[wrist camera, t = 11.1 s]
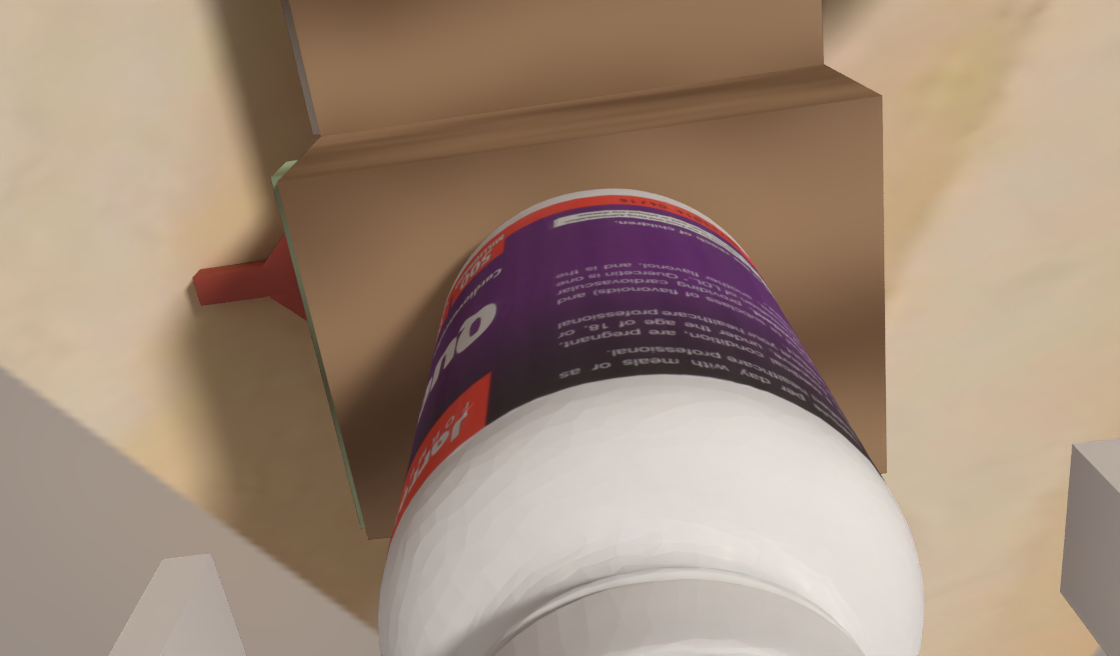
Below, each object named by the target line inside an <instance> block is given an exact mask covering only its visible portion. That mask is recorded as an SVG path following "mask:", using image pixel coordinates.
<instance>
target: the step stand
mask: <svg viewBox="0 0 1120 656" xmlns="http://www.w3.org/2000/svg"><path fill="white" fill-rule="evenodd" d="M281 2H282V6H283V10H284V14H285V19H286V23H287V27H288V31H289V36H290V40H291V44H292V48H293V52H294V57H295V61H296V65H297V69H298V74H299V78H300V82H301V86H302V90H303V95H304V99H305V103H306V107H307V112H308V116H309V120H310V124H311V128H312V133H313V135H318V134H320V136H321V137H320V138H319V139H318V140H317V141H316V142H315V143H314V144H313V145H312V146H311V147H310V148H309V149H308V150H307V151H306V152H305V153H304V154H303V155H302V156H301V157H300V159H299V160H294V161H287V162H286V163H285V164H284V165H283V166H282V167H280V168H279V169H278V170H277V171H276V172H275V173H274V174H273V175H272V176H271V181H272V185H273V189H274V193H275V196H276V200H277V204H278V208H279V212H280V216H281V220H282V224H283V227H284V231H285V234H284V235H283V237H282V238H281V240H280V241H279V243H278V244H277V246H276V247H275V249H274V250H273V252H272V253H271V255H270V256H269V257H268V259H267V260H264V261H257V262H250V263H243V264H236V265H229V266H221V267H214V268H207V269H200V270H199V271H198V272H197V273H196V274H195V276H194V277H193V281H194V284H195V287H196V291H197V294H198V297H199V301H200V304H201V306H202V305H210V304H217V303H224V302H231V301H238V300H246V299H253V298H260V297H267V296H269V297H271V298H273V299H274V300H276V301H277V302H279V303H280V304H282V305H283V306H285V307H287V308H288V309H290V310H291V311H293V312H294V313H296V314H298V315H299V316H301V317H302V318H304V319H305V320H307V321H308V324H309V328H310V332H311V336H312V340H313V344H314V348H315V351H316V355H317V359H318V363H319V367H320V371H321V375H322V379H323V382H324V386H325V390H326V394H327V398H328V402H329V406H330V410H331V413H332V417H333V421H334V425H335V429H336V433H337V437H338V441H339V444H340V448H341V452H342V456H343V460H344V464H345V468H346V472H347V475H348V479H349V483H350V487H351V491H352V495H353V499H354V503H355V506H356V510H357V514H358V518H359V522H360V526H361V529H362V528H366V532H367V536H368V540H371V539H379V538H387V537H392V534H393V530H394V525H395V521H396V516H397V512H398V508H399V503H400V499H401V495H402V490H403V486H404V482H405V477H406V473H407V469H408V465H409V460H410V456H411V451H412V447H413V442H414V437H415V431H416V428H417V424H418V418H419V414H420V410H421V406H422V403H423V398H424V394H425V390H426V385H427V380H428V376H429V372H430V368H431V363H432V359H433V354H434V349H435V344H436V340H437V336H438V331H439V326H440V321H441V318H442V315H443V311H444V307H445V304H446V300H447V298H448V295H449V293H450V290H451V288H452V286H453V284H454V282H455V280H456V278H457V276H458V274H459V272H460V271H461V269H462V267H463V266H464V264H465V263H466V261H467V260H468V259H469V257H470V256H471V254H472V253H473V252H474V251H475V250H476V249H477V247H478V246H479V245H480V244H481V243H482V242H483V241H484V240H485V239H486V238H487V237H488V236H489V235H490V234H491V233H492V232H493V231H495V230H496V229H497V228H498V227H499V226H501V225H502V224H503V223H505V222H506V221H508V220H509V219H511V218H512V217H514V216H515V215H517V214H518V213H520V212H521V211H523V210H525V209H527V208H529V207H531V206H533V205H535V204H538V203H540V202H543V201H546V200H548V199H551V198H554V197H557V196H561V195H564V194H569V193H574V192H579V191H587V190H595V189H608V188H611V189H633V190H639V191H644V192H649V193H654V194H658V195H661V196H664V197H668V198H670V199H673V200H675V201H678V202H681V203H683V204H685V205H687V206H689V207H691V208H693V209H695V210H697V211H698V212H700V213H702V214H703V215H705V216H707V217H708V218H710V219H711V220H712V221H714V222H715V223H716V224H717V225H719V226H720V227H721V228H722V229H724V230H725V231H726V232H727V233H728V234H729V235H730V236H731V237H732V238H733V239H734V240H735V241H736V242H737V243H738V244H739V245H740V246H741V248H742V249H743V250H744V251H745V253H746V254H747V255H748V256H749V258H750V260H751V261H752V262H753V264H754V265H755V266H756V268H757V269H758V271H759V273H760V274H761V276H762V277H763V279H764V281H765V282H766V284H767V286H768V288H769V289H770V291H771V293H772V295H773V297H774V299H775V300H776V302H777V303H778V305H779V307H780V309H781V310H782V312H783V314H784V315H785V317H786V319H787V320H788V322H789V324H790V325H791V327H792V329H793V330H794V332H795V334H796V335H797V337H798V339H799V340H800V342H801V344H802V345H803V347H804V349H805V350H806V352H807V353H808V355H809V357H810V358H811V360H812V362H813V364H814V365H815V367H816V369H817V370H818V372H819V373H820V375H821V377H822V378H823V380H824V382H825V383H826V385H827V387H828V388H829V390H830V392H831V393H832V395H833V397H834V398H835V400H836V402H837V404H838V405H839V407H840V409H841V410H842V412H843V414H844V415H845V417H846V419H847V420H848V422H849V424H850V426H851V427H852V429H853V430H854V432H855V434H856V435H857V437H858V438H859V440H860V442H861V443H862V445H863V447H864V448H865V450H866V452H867V454H868V455H869V457H870V458H871V460H872V461H873V463H874V465H875V466H876V468H877V469H878V471H879V473H880V474H884V473H887V457H886V374H885V291H884V207H883V124H882V95H880V94H878V93H876V92H874V91H872V90H871V89H869V88H867V87H865V86H863V85H861V84H859V83H858V82H856V81H854V80H852V79H850V78H848V77H846V76H845V75H843V74H841V73H839V72H837V71H835V70H833V69H832V68H830V67H828V66H826V65H824V56H823V27H822V0H281Z"/></svg>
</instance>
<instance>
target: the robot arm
mask: <svg viewBox="0 0 1120 656" xmlns="http://www.w3.org/2000/svg"><path fill="white" fill-rule="evenodd" d="M1060 592H1061V594H1062V595H1063V596H1064V598H1065V599H1066V600H1067V602H1068V603H1069V604H1070V606H1071V607H1072V608H1073V610H1074V611H1075V612H1076V614H1077V615H1078V617H1079V618H1080V619H1081V621H1082V622H1083V623H1084V625H1085V626H1086V627H1087V629H1088V630H1089V631H1090V633H1091V634H1092V635H1093V637H1094V638H1095V640H1096V641H1097V642H1098V644H1099V645H1100V646H1101V648H1102V649H1103V650H1104V652H1105V653H1106V654H1107V656H1120V438H1115V439H1107V440H1099V441H1091V442H1084V443H1076V444H1072V454H1071V466H1070V478H1069V491H1068V503H1067V515H1066V527H1065V539H1064V551H1063V563H1062V575H1061V587H1060ZM108 656H246V653H245V650H244V647H243V644H242V641H241V638H240V635H239V632H238V629H237V626H236V624H235V621H234V618H233V615H232V612H231V609H230V606H229V603H228V600H227V597H226V595H225V591H224V589H223V586H222V583H221V580H220V577H219V574H218V571H217V569H216V565H215V562H214V560H213V557H212V554H211V553H207V554H199V555H191V556H183V557H175V558H167V559H163V560H162V562H161V563H160V565H159V567H158V568H157V570H156V572H155V574H154V576H153V578H152V579H151V581H150V583H149V585H148V586H147V588H146V590H145V591H144V593H143V595H142V597H141V598H140V600H139V602H138V604H137V606H136V608H135V609H134V611H133V613H132V614H131V616H130V618H129V620H128V621H127V623H126V625H125V627H124V629H123V630H122V632H121V634H120V636H119V638H118V639H117V641H116V643H115V644H114V646H113V648H112V650H111V652H110V653H109V655H108Z"/></svg>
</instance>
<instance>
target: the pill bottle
mask: <svg viewBox="0 0 1120 656" xmlns="http://www.w3.org/2000/svg"><path fill="white" fill-rule="evenodd" d="M923 621H924V593H923V580H922V574H921V569H920V564H919V560H918V556H917V552H916V548H915V544H914V541H913V538H912V535H911V532H910V530H909V527H908V525H907V523H906V520H905V518H904V516H903V514H902V512H901V510H900V508H899V506H898V504H897V503H896V501H895V499H894V497H893V496H892V494H891V492H890V490H889V488H888V486H887V484H886V483H885V481H884V479H883V478H882V476H881V474H880V473H879V471H878V469H877V468H876V466H875V465H874V463H873V461H872V460H871V458H870V457H869V455H868V454H867V452H866V450H865V448H864V447H863V445H862V443H861V442H860V440H859V438H858V437H857V435H856V434H855V432H854V430H853V429H852V427H851V426H850V424H849V422H848V420H847V419H846V417H845V415H844V414H843V412H842V410H841V409H840V407H839V405H838V404H837V402H836V400H835V398H834V397H833V395H832V393H831V392H830V390H829V388H828V387H827V385H826V383H825V382H824V380H823V378H822V377H821V375H820V373H819V372H818V370H817V369H816V367H815V365H814V364H813V362H812V360H811V358H810V357H809V355H808V353H807V352H806V350H805V349H804V347H803V345H802V344H801V342H800V340H799V339H798V337H797V335H796V334H795V332H794V330H793V329H792V327H791V325H790V324H789V322H788V320H787V319H786V317H785V315H784V314H783V312H782V310H781V309H780V307H779V305H778V303H777V302H776V300H775V299H774V297H773V295H772V293H771V291H770V289H769V288H768V286H767V284H766V282H765V281H764V279H763V277H762V276H761V274H760V273H759V271H758V269H757V268H756V266H755V265H754V264H753V262H752V261H751V260H750V258H749V256H748V255H747V254H746V253H745V251H744V250H743V249H742V248H741V246H740V245H739V244H738V243H737V242H736V241H735V240H734V239H733V238H732V237H731V236H730V235H729V234H728V233H727V232H726V231H725V230H724V229H722V228H721V227H720V226H719V225H717V224H716V223H715V222H714V221H712V220H711V219H710V218H708V217H707V216H705V215H703V214H702V213H700V212H698V211H697V210H695V209H693V208H691V207H689V206H687V205H685V204H683V203H681V202H678V201H675V200H673V199H670V198H668V197H664V196H661V195H658V194H654V193H649V192H644V191H639V190H633V189H611V188H608V189H595V190H587V191H579V192H574V193H569V194H564V195H561V196H557V197H554V198H551V199H548V200H546V201H543V202H540V203H538V204H535V205H533V206H531V207H529V208H527V209H525V210H523V211H521V212H520V213H518V214H517V215H515V216H514V217H512V218H511V219H509V220H508V221H506V222H505V223H503V224H502V225H501V226H499V227H498V228H497V229H496V230H495V231H493V232H492V233H491V234H490V235H489V236H488V237H487V238H486V239H485V240H484V241H483V242H482V243H481V244H480V245H479V246H478V247H477V249H476V250H475V251H474V252H473V253H472V254H471V256H470V257H469V259H468V260H467V261H466V263H465V264H464V266H463V267H462V269H461V271H460V272H459V274H458V276H457V278H456V280H455V282H454V284H453V286H452V288H451V290H450V293H449V295H448V298H447V300H446V304H445V307H444V311H443V315H442V318H441V321H440V326H439V331H438V336H437V340H436V344H435V349H434V354H433V359H432V363H431V368H430V372H429V376H428V380H427V385H426V390H425V394H424V398H423V403H422V406H421V410H420V414H419V418H418V424H417V428H416V431H415V437H414V442H413V447H412V451H411V456H410V460H409V465H408V469H407V473H406V477H405V482H404V486H403V490H402V495H401V499H400V503H399V508H398V512H397V516H396V521H395V525H394V530H393V534H392V537H391V541H390V545H389V549H388V554H387V558H386V563H385V569H384V574H383V579H382V583H381V588H380V597H379V610H378V633H379V642H380V650H381V656H919V651H920V647H921V641H922V630H923Z"/></svg>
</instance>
